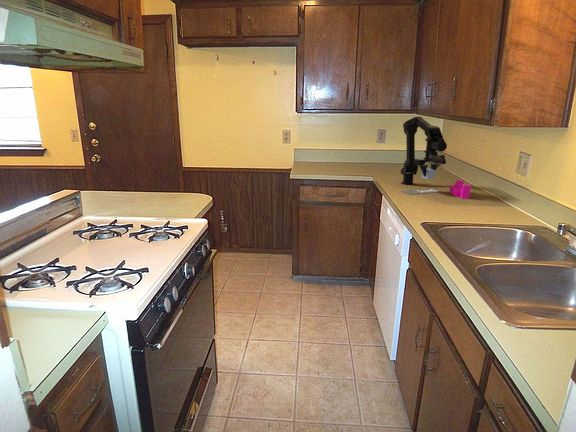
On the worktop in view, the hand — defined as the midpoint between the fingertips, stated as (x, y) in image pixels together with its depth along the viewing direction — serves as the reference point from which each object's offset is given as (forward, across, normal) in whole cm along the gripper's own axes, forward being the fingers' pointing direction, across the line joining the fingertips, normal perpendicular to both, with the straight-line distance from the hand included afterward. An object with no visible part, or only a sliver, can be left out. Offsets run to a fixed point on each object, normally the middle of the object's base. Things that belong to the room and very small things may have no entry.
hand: (428, 176), depth 230 cm
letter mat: (+9, -4, 0) cm, 10 cm away
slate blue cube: (+1, 0, 0) cm, 1 cm away
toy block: (+10, +11, -14) cm, 20 cm away
